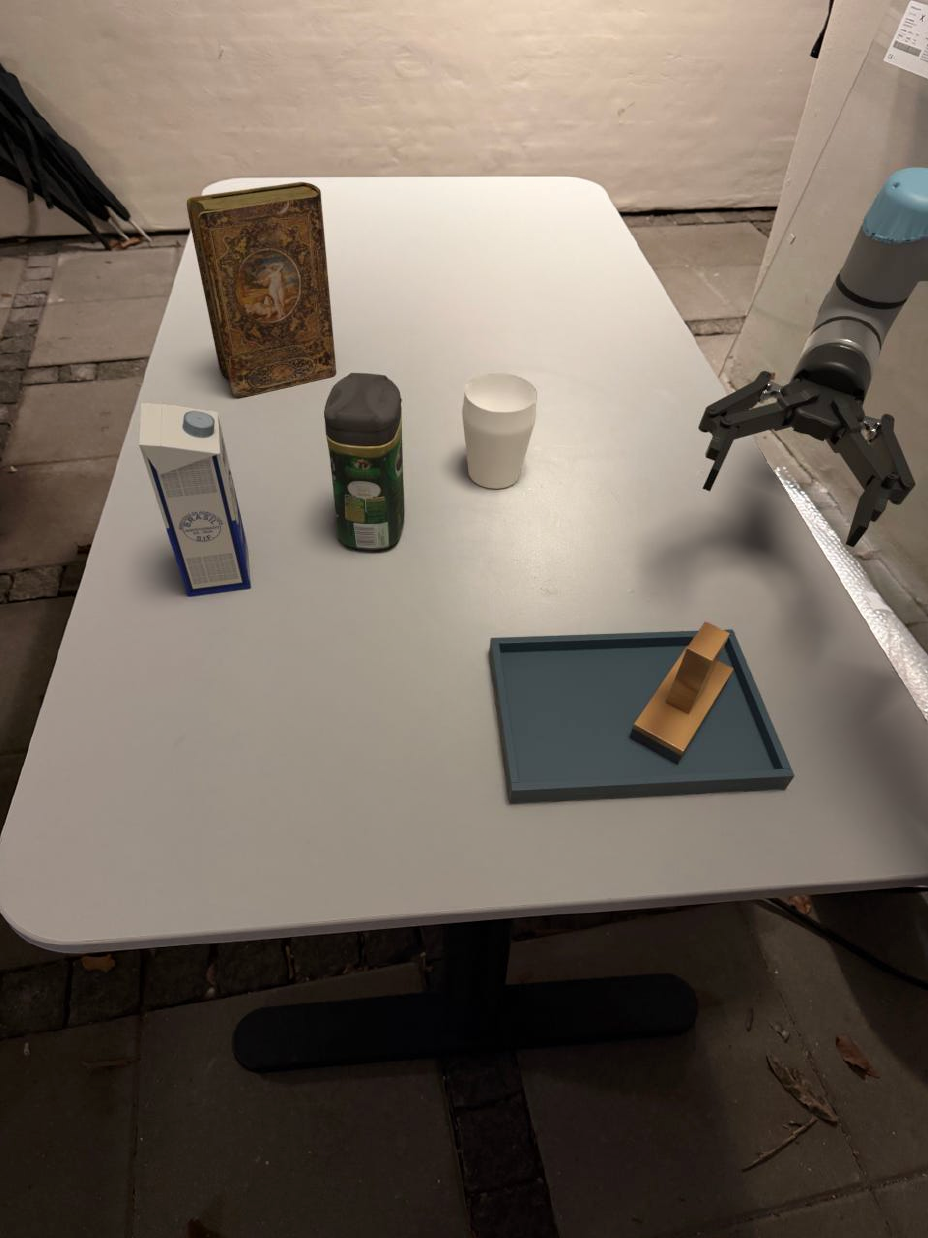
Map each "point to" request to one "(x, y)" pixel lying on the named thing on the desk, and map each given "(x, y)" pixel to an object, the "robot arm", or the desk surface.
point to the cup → (497, 427)
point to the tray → (622, 720)
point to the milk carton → (195, 496)
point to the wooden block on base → (685, 696)
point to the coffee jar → (366, 460)
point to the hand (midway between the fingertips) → (782, 508)
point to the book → (266, 285)
